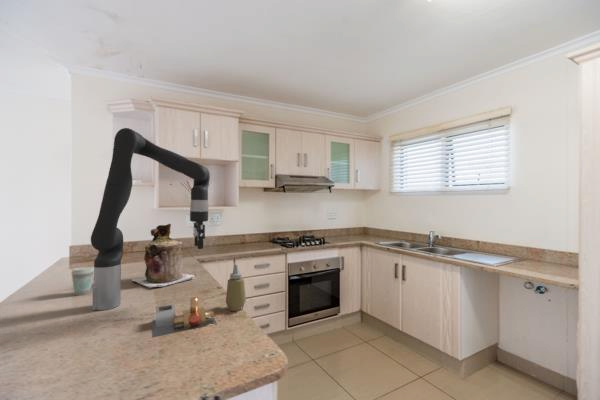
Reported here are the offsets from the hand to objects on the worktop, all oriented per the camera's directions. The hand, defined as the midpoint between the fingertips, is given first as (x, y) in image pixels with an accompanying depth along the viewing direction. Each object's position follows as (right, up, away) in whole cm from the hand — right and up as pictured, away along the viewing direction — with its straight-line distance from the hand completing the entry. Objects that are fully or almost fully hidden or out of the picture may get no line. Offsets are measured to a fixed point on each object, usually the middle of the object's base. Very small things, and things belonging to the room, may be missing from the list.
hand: (198, 247), depth 119 cm
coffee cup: (-60, -24, +11) cm, 65 cm away
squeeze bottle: (+18, -24, -8) cm, 31 cm away
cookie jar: (-32, -25, +33) cm, 52 cm away
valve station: (+3, -24, -22) cm, 33 cm away
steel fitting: (-3, -23, -23) cm, 32 cm away
